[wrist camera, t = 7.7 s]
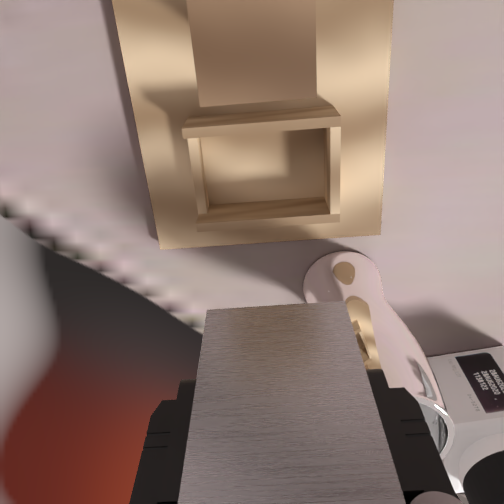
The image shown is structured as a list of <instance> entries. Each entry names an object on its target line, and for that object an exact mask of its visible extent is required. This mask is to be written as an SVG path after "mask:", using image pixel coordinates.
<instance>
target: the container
mask: <svg viewBox="0 0 504 504" xmlns="http://www.w3.org/2000/svg"><path fill="white" fill-rule="evenodd" d="M427 359H428V361H429V363H430V365H431V368H432V370H433V372H434V375H435V377H436V379H437V382H438V384H439V387H440V390H441V393H442V395H443V398H444V401H445V404H446V407H447V410H448V413H449V416H450V417H451V419H452V421H453V424H454V429H455V438H454V442H453V445H452V447H451V449H450V451H449V453H448V454H447V456H446V457H445V458H444V459H443V460H442V462H443V464H444V467H445V469H446V472H447V474H448V477H449V479H450V482H451V484H452V487H453V489H454V491H455V493H461V492H464V493H465V495H466V497H467V500H468V502H469V504H504V346H497V347H491V348H485V349H478V350H472V351H466V352H459V353H453V354H447V355H440V356H434V357H428V358H427Z"/></svg>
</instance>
